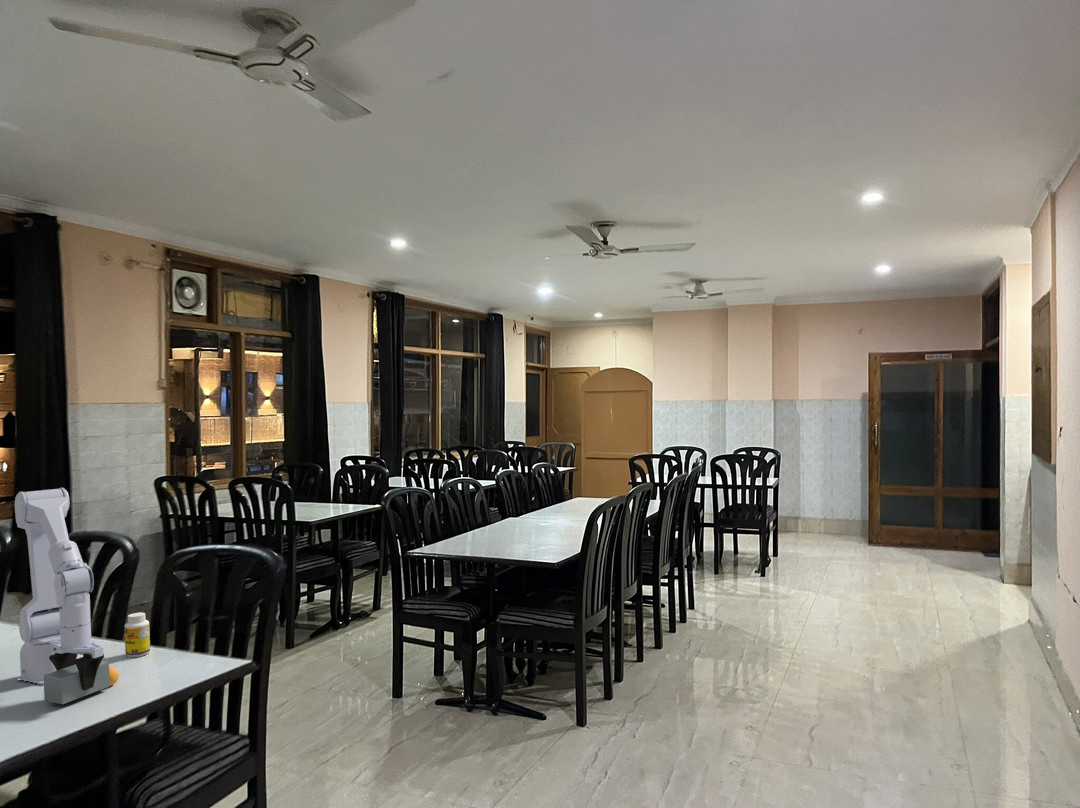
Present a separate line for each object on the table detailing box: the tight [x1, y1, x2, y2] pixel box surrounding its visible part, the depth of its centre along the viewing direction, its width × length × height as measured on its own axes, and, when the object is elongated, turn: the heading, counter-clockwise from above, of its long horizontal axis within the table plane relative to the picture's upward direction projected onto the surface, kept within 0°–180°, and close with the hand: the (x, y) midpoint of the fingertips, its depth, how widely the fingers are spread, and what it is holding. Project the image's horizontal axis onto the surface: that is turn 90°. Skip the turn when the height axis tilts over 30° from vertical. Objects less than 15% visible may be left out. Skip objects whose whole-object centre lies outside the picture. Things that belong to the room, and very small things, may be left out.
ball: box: [109, 666, 120, 687], centre depth 174 cm, size 4×4×4 cm
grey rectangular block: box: [43, 660, 111, 705], centre depth 167 cm, size 6×11×5 cm, turn 156°
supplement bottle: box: [124, 612, 151, 658], centre depth 195 cm, size 6×6×10 cm
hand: (77, 686), depth 167 cm, fingers closed on grey rectangular block, 6 cm apart
